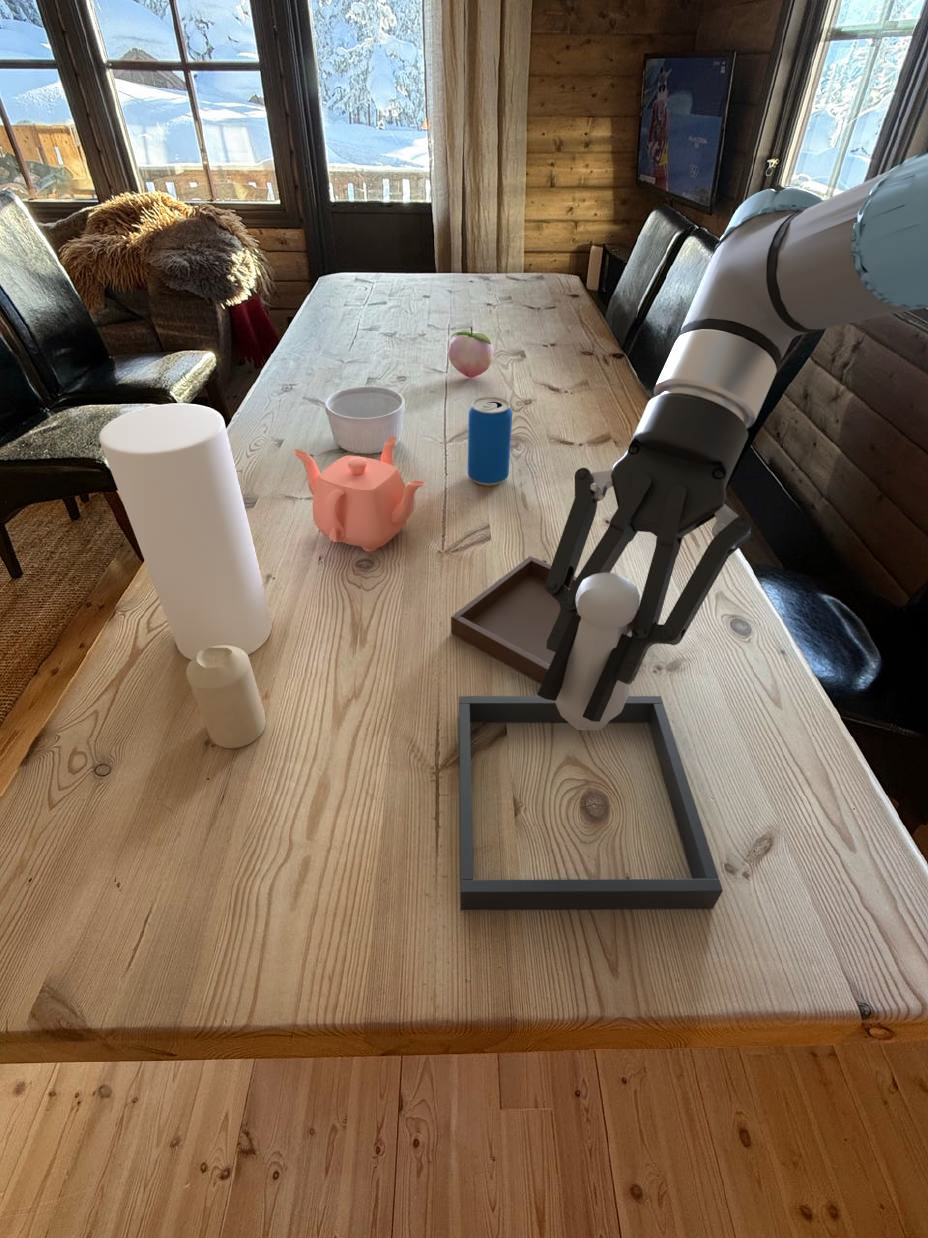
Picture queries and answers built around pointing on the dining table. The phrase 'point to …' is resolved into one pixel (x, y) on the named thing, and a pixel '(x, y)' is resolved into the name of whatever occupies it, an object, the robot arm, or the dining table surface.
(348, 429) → the ramekin
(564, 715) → the salt shaker
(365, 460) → the teapot
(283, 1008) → the dining table surface
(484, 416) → the beverage can
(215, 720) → the candle
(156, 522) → the tall pillar cylinder
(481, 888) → the open gray frame
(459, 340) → the decorative fruit
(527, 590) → the tray
